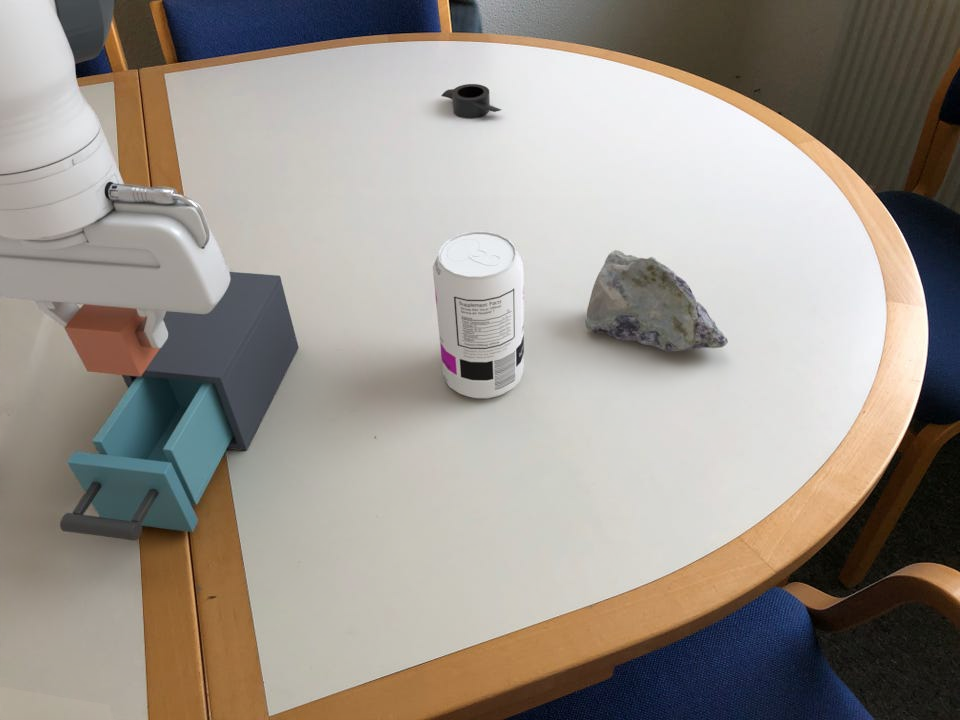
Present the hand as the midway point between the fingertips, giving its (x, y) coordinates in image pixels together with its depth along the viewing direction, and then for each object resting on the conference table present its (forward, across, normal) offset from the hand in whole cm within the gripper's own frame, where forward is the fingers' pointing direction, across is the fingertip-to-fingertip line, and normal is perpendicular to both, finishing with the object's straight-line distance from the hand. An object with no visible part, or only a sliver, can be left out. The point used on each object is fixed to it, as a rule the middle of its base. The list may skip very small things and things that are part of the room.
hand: (120, 339), depth 61 cm
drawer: (+16, 0, +2) cm, 16 cm away
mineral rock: (+17, -42, -24) cm, 51 cm away
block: (+2, 0, 0) cm, 2 cm away
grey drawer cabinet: (+17, 0, -11) cm, 20 cm away
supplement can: (+17, -25, -17) cm, 34 cm away
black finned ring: (+17, -13, -75) cm, 78 cm away
